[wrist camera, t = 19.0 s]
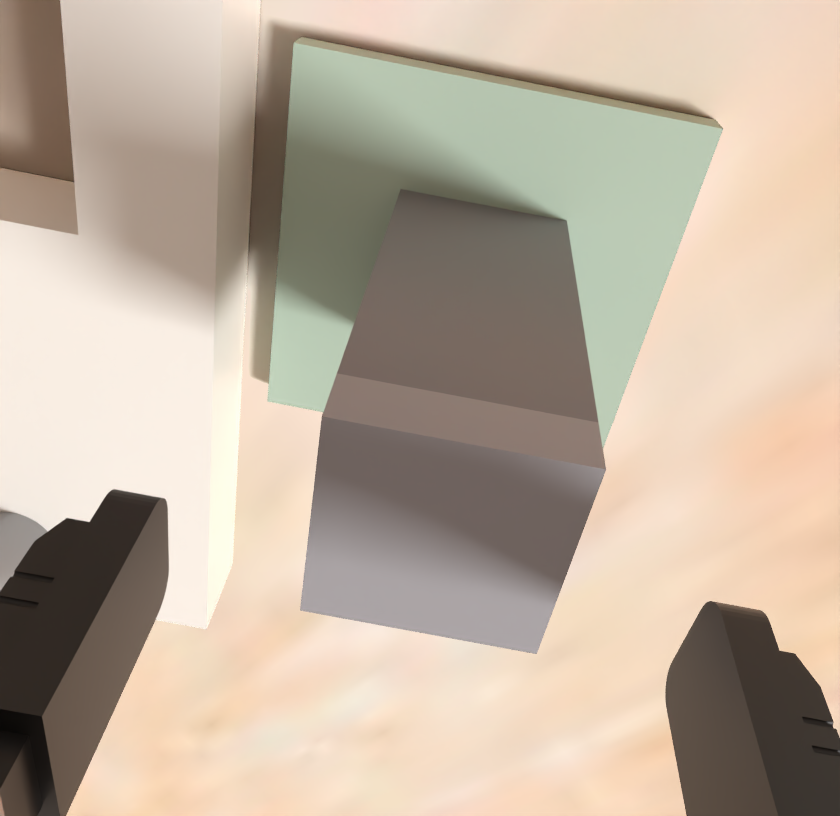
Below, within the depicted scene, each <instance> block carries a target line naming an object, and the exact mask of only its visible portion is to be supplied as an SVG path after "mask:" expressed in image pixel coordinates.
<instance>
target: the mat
mask: <svg viewBox="0 0 840 816" xmlns="http://www.w3.org/2000/svg"><path fill="white" fill-rule="evenodd" d="M722 130H723V128H722V127H721V126H720V124H719V123H718V122H717V121H716V120H714V119H709V118H704V117H699V116H694V115H689V114H684V113H679V112H674V111H669V110H664V109H659V108H654V107H649V106H644V105H639V104H634V103H629V102H624V101H619V100H615V99H610V98H605V97H600V96H595V95H590V94H585V93H580V92H575V91H570V90H565V89H560V88H555V87H550V86H545V85H540V84H535V83H530V82H525V81H520V80H515V79H510V78H505V77H500V76H495V75H490V74H485V73H480V72H475V71H470V70H465V69H460V68H455V67H450V66H445V65H440V64H435V63H430V62H425V61H420V60H415V59H410V58H405V57H400V56H395V55H390V54H385V53H380V52H375V51H370V50H365V49H360V48H355V47H350V46H345V45H340V44H335V43H330V42H325V41H320V40H315V39H310V38H305V37H300V38H299V39H298V40H296V41H295V42H294V44H293V58H292V71H291V85H290V99H289V113H288V126H287V140H286V154H285V168H284V181H283V195H282V209H281V223H280V236H279V250H278V264H277V278H276V291H275V305H274V319H273V333H272V347H271V360H270V374H269V388H268V402H273V403H279V404H284V405H289V406H294V407H299V408H304V409H310V410H315V411H320V412H324V409H325V406H326V403H327V400H328V398H329V395H330V392H331V389H332V386H333V383H334V380H335V377H336V374H337V372H338V369H339V366H340V363H341V360H342V357H343V354H344V351H345V348H346V345H347V343H348V340H349V337H350V334H351V331H352V328H353V325H354V322H355V319H356V317H357V314H358V311H359V308H360V305H361V302H362V299H363V296H364V293H365V291H366V288H367V285H368V282H369V279H370V276H371V273H372V270H373V267H374V265H375V262H376V259H377V256H378V253H379V250H380V247H381V244H382V241H383V239H384V236H385V233H386V230H387V227H388V224H389V221H390V218H391V215H392V213H393V210H394V207H395V204H396V201H397V198H398V195H399V192H400V189H403V190H409V191H414V192H419V193H424V194H429V195H435V196H440V197H445V198H450V199H456V200H461V201H466V202H471V203H477V204H482V205H487V206H492V207H498V208H503V209H508V210H513V211H518V212H524V213H529V214H534V215H539V216H545V217H550V218H555V219H560V220H566V221H567V225H568V231H569V238H570V244H571V250H572V257H573V263H574V269H575V276H576V282H577V288H578V295H579V301H580V308H581V314H582V320H583V327H584V333H585V339H586V346H587V352H588V359H589V365H590V371H591V378H592V384H593V390H594V397H595V403H596V410H597V416H598V422H599V429H600V435H601V441H602V448H603V447H604V444H605V442H606V439H607V436H608V434H609V431H610V428H611V426H612V423H613V420H614V418H615V415H616V412H617V410H618V407H619V404H620V402H621V399H622V396H623V394H624V391H625V388H626V386H627V383H628V380H629V378H630V375H631V372H632V370H633V367H634V364H635V362H636V359H637V356H638V354H639V351H640V348H641V346H642V343H643V341H644V338H645V335H646V333H647V330H648V327H649V325H650V322H651V319H652V317H653V314H654V311H655V309H656V306H657V303H658V301H659V298H660V295H661V293H662V290H663V287H664V285H665V282H666V279H667V277H668V274H669V271H670V269H671V266H672V263H673V261H674V258H675V255H676V253H677V250H678V247H679V245H680V242H681V239H682V237H683V234H684V231H685V229H686V226H687V223H688V221H689V218H690V215H691V213H692V210H693V207H694V205H695V202H696V199H697V197H698V194H699V191H700V189H701V186H702V184H703V181H704V178H705V176H706V173H707V170H708V168H709V165H710V162H711V160H712V157H713V154H714V152H715V149H716V146H717V144H718V141H719V138H720V136H721V133H722Z"/></svg>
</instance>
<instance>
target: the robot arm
mask: <svg viewBox="0 0 840 816" xmlns="http://www.w3.org/2000/svg"><path fill="white" fill-rule="evenodd" d="M168 575H169V547H168V507H167V501H166V499H165V498H160V497H155V496H149V495H144V494H138V493H133V492H128V491H122V490H117V489H113V490H111V491H110V492H109V493H108V494H107V495H106V496H105V498H104V499H103V501H102V503H101V504H100V506H99V508H98V509H97V511H96V512H95V514H94V516H93V517H92V519H91V520H90V522H87V521H81V520H76V519H70V518H66V519H65V520H63V521H62V522H60V523H59V524H58V525H56V526H55V527H53V528H52V529H51V530H49V531H48V532H46V533H45V534H44V535H42V536H41V537H39V538H38V539H37V540H35V541H34V543H33V544H32V546H31V547H30V548H29V550H28V551H27V553H26V554H25V556H24V557H23V559H22V560H21V562H20V563H19V565H18V566H17V567H16V569H15V570H14V575H13V577H10V578H9V579H8V581H7V582H6V584H5V585H4V586H3V588H2V589H1V591H0V816H66V814H67V812H68V810H69V808H70V806H71V803H72V801H73V799H74V797H75V795H76V792H77V790H78V788H79V786H80V784H81V781H82V779H83V777H84V775H85V773H86V771H87V768H88V766H89V764H90V762H91V760H92V757H93V755H94V753H95V751H96V749H97V746H98V744H99V742H100V740H101V738H102V736H103V733H104V731H105V729H106V727H107V725H108V722H109V720H110V718H111V716H112V714H113V711H114V709H115V707H116V705H117V703H118V701H119V698H120V696H121V694H122V692H123V690H124V687H125V685H126V683H127V681H128V679H129V676H130V674H131V672H132V670H133V668H134V666H135V663H136V661H137V659H138V657H139V655H140V652H141V650H142V648H143V646H144V644H145V641H146V639H147V637H148V635H149V633H150V631H151V628H152V626H153V624H154V622H155V620H156V617H157V615H158V613H159V611H160V608H161V605H162V602H163V599H164V596H165V592H166V588H167V582H168ZM666 707H667V713H668V718H669V723H670V729H671V734H672V740H673V745H674V750H675V756H676V761H677V766H678V772H679V777H680V782H681V788H682V793H683V799H684V804H685V809H686V815H687V816H840V738H839V735H838V733H837V730H836V729H833V719H832V717H831V714H830V711H829V709H828V706H827V703H826V701H825V698H824V695H823V693H822V690H821V687H820V686H819V684H818V683H817V682H816V681H815V679H814V678H813V677H812V675H811V674H810V673H809V671H808V670H807V669H806V668H805V666H804V665H803V664H802V662H801V661H800V660H799V658H798V657H797V656H796V654H794V653H788V652H783V651H779V648H778V645H777V642H776V639H775V636H774V633H773V631H772V628H771V625H770V622H769V620H768V618H767V616H766V614H765V613H764V612H762V611H761V610H756V609H750V608H745V607H739V606H734V605H729V604H723V603H718V602H712V601H710V602H707V603H706V604H705V605H704V606H703V607H702V609H701V611H700V612H699V614H698V616H697V618H696V620H695V621H694V623H693V625H692V627H691V629H690V630H689V632H688V634H687V636H686V638H685V639H684V641H683V643H682V645H681V647H680V649H679V650H678V652H677V654H676V656H675V658H674V659H673V661H672V663H671V665H670V668H669V672H668V676H667V681H666Z"/></svg>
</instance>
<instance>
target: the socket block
mask: <svg viewBox="0 0 840 816" xmlns="http://www.w3.org/2000/svg"><path fill="white" fill-rule="evenodd" d="M60 5H61V18H62V31H63V44H64V56H65V69H66V82H67V95H68V108H69V120H70V133H71V146H72V159H73V171H74V182H70V181H65V180H60V179H55V178H50V177H45V176H40V175H35V174H30V173H25V172H20V171H14V170H9V169H4V168H0V591H1V589H2V588H3V586H4V585H5V584H6V582H7V581H8V579H9V578H10V577H13V575H14V570H15V569H16V567H17V566H18V565H19V563H20V562H21V560H22V559H23V557H24V556H25V554H26V553H27V551H28V550H29V548H30V547H31V546H32V544H33V543H34V541H35V540H37V539H38V538H39V537H41V536H42V535H44V534H45V533H46V532H48V531H49V530H51V529H52V528H53V527H55V526H56V525H58V524H59V523H60V522H62V521H63V520H65V519H66V518H70V519H76V520H81V521H87V522H90V520H91V519H92V517H93V516H94V514H95V512H96V511H97V509H98V508H99V506H100V504H101V503H102V501H103V499H104V498H105V496H106V495H107V494H108V493H109V492H110V491H111V490H113V489H117V490H122V491H128V492H133V493H138V494H144V495H149V496H155V497H160V498H165V499H166V501H167V507H168V547H169V575H168V582H167V588H166V592H165V596H164V599H163V602H162V605H161V608H160V611H159V613H158V615H157V617H156V620H159V621H164V622H170V623H175V624H180V625H186V626H191V627H196V628H202V629H207V627H208V625H209V622H210V620H211V617H212V615H213V612H214V610H215V607H216V605H217V602H218V600H219V597H220V595H221V592H222V590H223V587H224V585H225V582H226V580H227V577H228V575H229V572H230V570H231V567H232V565H233V548H234V528H235V508H236V488H237V468H238V448H239V427H240V407H241V387H242V367H243V347H244V327H245V307H246V287H247V267H248V247H249V227H250V206H251V186H252V166H253V146H254V126H255V106H256V86H257V66H258V46H259V26H260V6H261V0H60Z"/></svg>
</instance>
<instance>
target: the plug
mask: <svg viewBox="0 0 840 816" xmlns="http://www.w3.org/2000/svg"><path fill="white" fill-rule="evenodd" d="M605 471H606V467H605V460H604V454H603V448H602V441H601V435H600V429H599V422H598V416H597V410H596V403H595V397H594V390H593V384H592V378H591V371H590V365H589V359H588V352H587V346H586V339H585V333H584V327H583V320H582V314H581V308H580V301H579V295H578V288H577V282H576V276H575V269H574V263H573V257H572V250H571V244H570V238H569V231H568V225H567V221H566V220H560V219H555V218H550V217H545V216H539V215H534V214H529V213H524V212H518V211H513V210H508V209H503V208H498V207H492V206H487V205H482V204H477V203H471V202H466V201H461V200H456V199H450V198H445V197H440V196H435V195H429V194H424V193H419V192H414V191H409V190H403V189H400V192H399V195H398V198H397V201H396V204H395V207H394V210H393V213H392V215H391V218H390V221H389V224H388V227H387V230H386V233H385V236H384V239H383V241H382V244H381V247H380V250H379V253H378V256H377V259H376V262H375V265H374V267H373V270H372V273H371V276H370V279H369V282H368V285H367V288H366V291H365V293H364V296H363V299H362V302H361V305H360V308H359V311H358V314H357V317H356V319H355V322H354V325H353V328H352V331H351V334H350V337H349V340H348V343H347V345H346V348H345V351H344V354H343V357H342V360H341V363H340V366H339V369H338V372H337V374H336V377H335V380H334V383H333V386H332V389H331V392H330V395H329V398H328V400H327V403H326V406H325V409H324V412H323V415H322V421H321V430H320V439H319V447H318V456H317V465H316V474H315V483H314V492H313V501H312V510H311V519H310V527H309V536H308V545H307V554H306V563H305V572H304V581H303V590H302V599H301V607H300V610H301V611H306V612H312V613H317V614H323V615H328V616H333V617H339V618H344V619H350V620H355V621H361V622H366V623H371V624H377V625H382V626H388V627H393V628H398V629H404V630H409V631H415V632H420V633H426V634H431V635H436V636H442V637H447V638H453V639H458V640H464V641H469V642H474V643H480V644H485V645H491V646H496V647H502V648H507V649H512V650H518V651H523V652H529V653H534V654H537V651H538V649H539V646H540V643H541V641H542V638H543V635H544V633H545V630H546V627H547V625H548V622H549V619H550V617H551V614H552V611H553V609H554V606H555V603H556V601H557V598H558V595H559V593H560V590H561V588H562V585H563V582H564V580H565V577H566V574H567V572H568V569H569V566H570V564H571V561H572V558H573V556H574V553H575V550H576V548H577V545H578V542H579V540H580V537H581V534H582V532H583V529H584V526H585V524H586V521H587V518H588V516H589V513H590V510H591V508H592V505H593V503H594V500H595V497H596V495H597V492H598V489H599V487H600V484H601V481H602V479H603V476H604V473H605Z"/></svg>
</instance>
